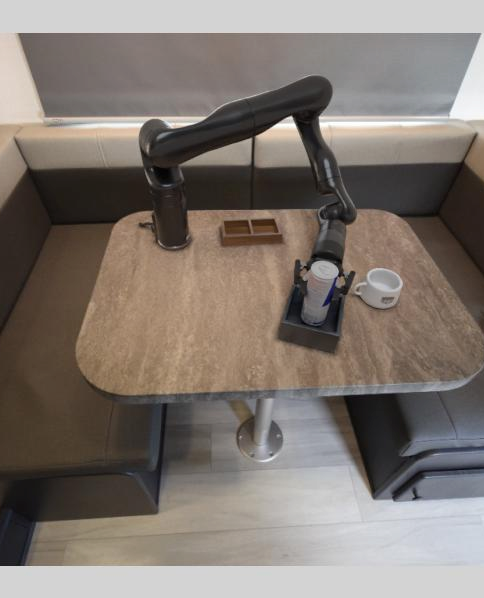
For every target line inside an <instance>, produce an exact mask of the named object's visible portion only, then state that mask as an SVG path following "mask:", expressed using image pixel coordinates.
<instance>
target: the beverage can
mask: <svg viewBox="0 0 484 598" xmlns="http://www.w3.org/2000/svg"><path fill="white" fill-rule="evenodd" d="M338 273H339V271H338V268H337V267H336V266H335V265H334V264H332V263H330V262H327V261H317V262H315V263H313V264H312V266H311V270H310V274H309V279H308V283H307V289H306V293H305V297H304V302H303V307H302V311H301V318H302V320H303V321H304V322H305V323H307V324H309V325H314V326H316V325H320V324H322V323H323V322H324V321H325V318H326V315H327V311H328V308H329V305H330V301H331V298H332V294H333V291H334V288H335V284H336V281H337V278H338Z"/></svg>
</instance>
